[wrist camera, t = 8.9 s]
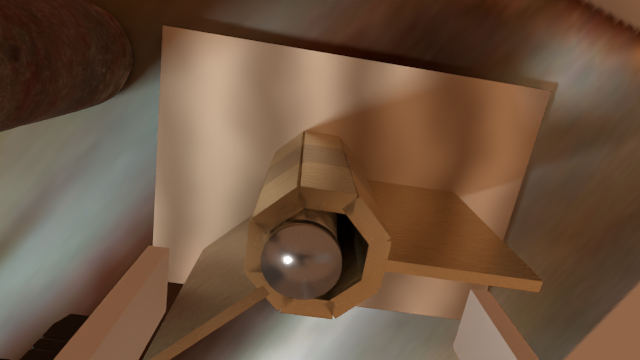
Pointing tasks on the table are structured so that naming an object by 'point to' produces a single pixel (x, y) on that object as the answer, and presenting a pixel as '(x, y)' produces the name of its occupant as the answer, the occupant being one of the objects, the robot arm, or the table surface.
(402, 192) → the hinge
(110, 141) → the table surface
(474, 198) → the board
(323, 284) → the hinge pin
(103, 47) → the candle
